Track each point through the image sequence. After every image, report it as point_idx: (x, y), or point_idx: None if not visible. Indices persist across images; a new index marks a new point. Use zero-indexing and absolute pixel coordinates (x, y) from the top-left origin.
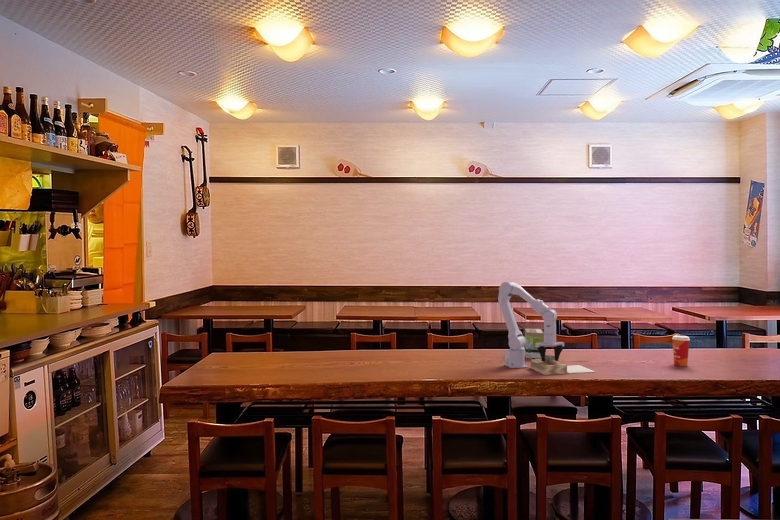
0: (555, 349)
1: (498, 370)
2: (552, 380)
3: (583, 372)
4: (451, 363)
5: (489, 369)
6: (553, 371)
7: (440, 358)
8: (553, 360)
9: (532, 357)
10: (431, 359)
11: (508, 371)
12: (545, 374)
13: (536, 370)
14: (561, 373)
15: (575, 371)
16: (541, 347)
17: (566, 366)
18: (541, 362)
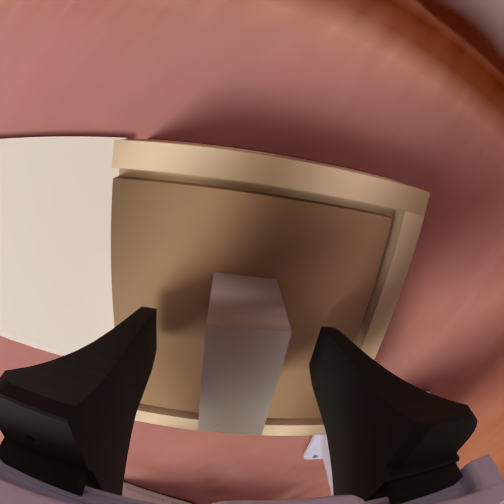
0: (116, 454)
1: (496, 358)
2: (422, 15)
3: (10, 138)
4: (494, 444)
5: (501, 377)
6: (301, 159)
7: None
8: (229, 293)
9: (167, 499)
10: None
11: (485, 334)
12: (373, 174)
13: None
14: (206, 144)
15: (46, 170)
16: (434, 472)
17: (128, 139)
18: None
